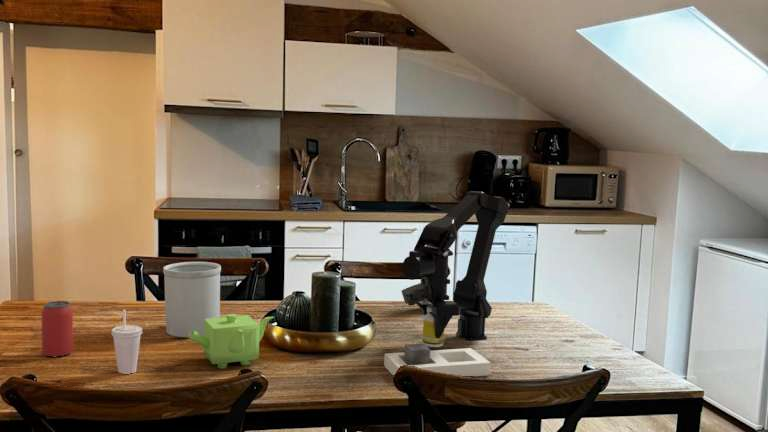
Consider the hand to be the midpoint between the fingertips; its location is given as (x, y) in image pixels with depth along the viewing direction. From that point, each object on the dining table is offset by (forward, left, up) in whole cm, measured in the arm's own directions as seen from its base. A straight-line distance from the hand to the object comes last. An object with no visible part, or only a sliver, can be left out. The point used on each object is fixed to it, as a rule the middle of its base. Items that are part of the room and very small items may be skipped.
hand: (433, 334), depth 176 cm
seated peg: (+10, +15, -4) cm, 18 cm away
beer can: (+89, -14, -4) cm, 90 cm away
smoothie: (+73, +2, -4) cm, 73 cm away
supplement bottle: (0, 0, -3) cm, 3 cm away
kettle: (+50, 0, -4) cm, 50 cm away
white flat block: (+5, +15, -4) cm, 16 cm away
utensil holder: (+58, -28, -4) cm, 65 cm away
